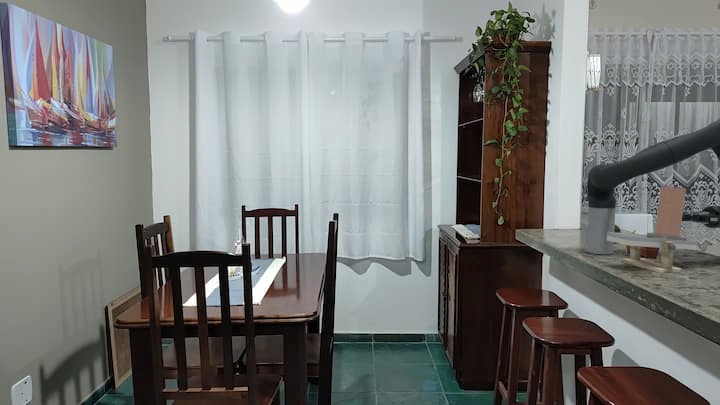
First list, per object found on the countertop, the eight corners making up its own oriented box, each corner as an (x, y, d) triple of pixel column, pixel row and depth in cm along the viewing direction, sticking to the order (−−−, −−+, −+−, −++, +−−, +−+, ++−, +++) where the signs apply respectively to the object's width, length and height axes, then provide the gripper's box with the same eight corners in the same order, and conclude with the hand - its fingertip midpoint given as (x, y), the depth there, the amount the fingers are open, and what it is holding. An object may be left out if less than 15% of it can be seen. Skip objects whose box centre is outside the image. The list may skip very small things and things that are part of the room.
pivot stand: (639, 260, 173) (641, 233, 172) (682, 271, 156) (684, 242, 155) (620, 261, 171) (621, 234, 170) (661, 273, 154) (663, 243, 153)
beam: (670, 244, 171) (672, 236, 171) (696, 250, 161) (698, 241, 161) (606, 240, 165) (607, 231, 165) (629, 245, 155) (630, 236, 155)
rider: (666, 239, 169) (673, 187, 168) (686, 243, 162) (694, 189, 160) (646, 238, 168) (653, 185, 166) (665, 242, 160) (673, 187, 159)
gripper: (704, 203, 174) (662, 204, 170) (740, 207, 161) (696, 208, 158) (702, 224, 175) (661, 226, 171) (738, 230, 162) (694, 232, 158)
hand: (678, 217), depth 164 cm, fingers closed
